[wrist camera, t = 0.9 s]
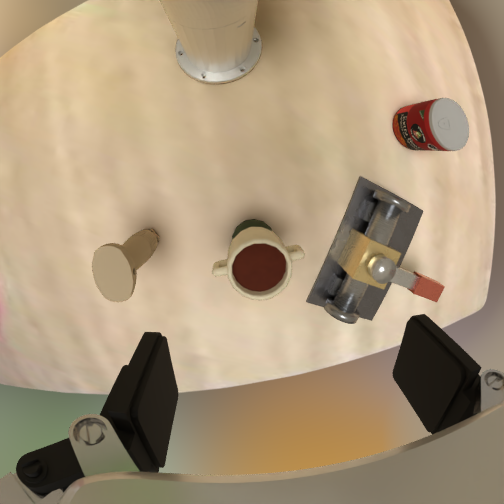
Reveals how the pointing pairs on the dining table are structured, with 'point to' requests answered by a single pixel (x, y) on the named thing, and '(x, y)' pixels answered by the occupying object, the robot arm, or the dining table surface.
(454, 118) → the canned food
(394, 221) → the valve
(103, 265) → the handle
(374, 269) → the lever
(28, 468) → the robot arm
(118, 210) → the dining table surface
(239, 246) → the character mug
